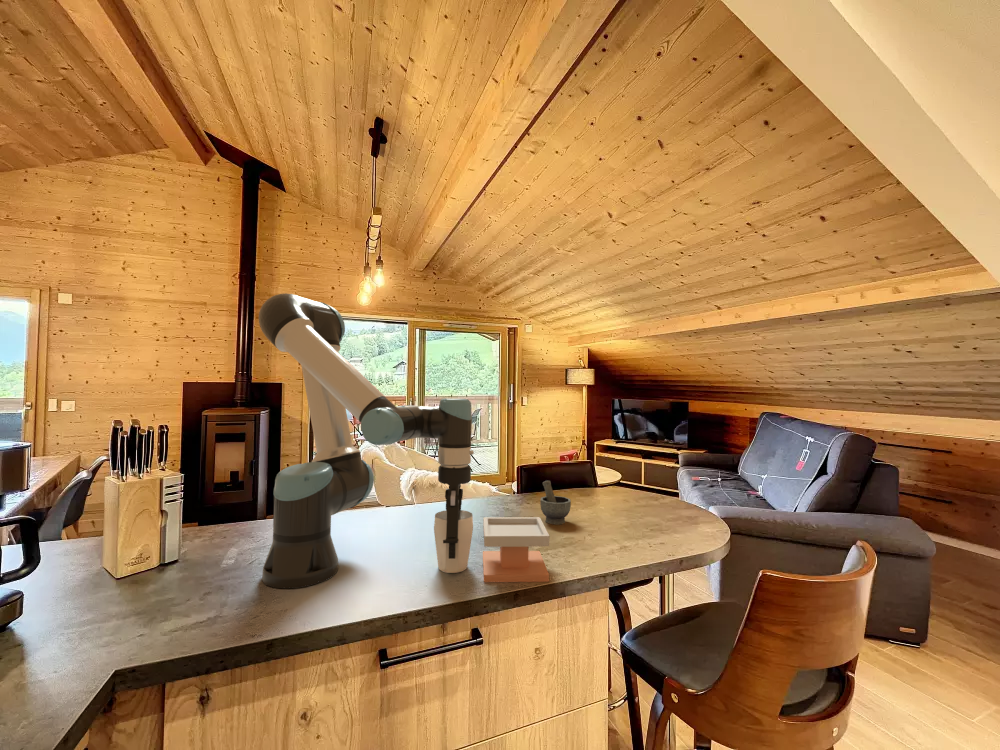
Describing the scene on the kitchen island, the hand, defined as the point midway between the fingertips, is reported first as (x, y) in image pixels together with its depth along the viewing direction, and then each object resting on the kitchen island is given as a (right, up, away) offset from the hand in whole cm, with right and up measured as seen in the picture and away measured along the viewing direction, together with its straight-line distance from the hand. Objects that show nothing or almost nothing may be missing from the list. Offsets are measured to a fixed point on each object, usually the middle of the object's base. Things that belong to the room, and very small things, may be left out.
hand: (452, 563), depth 102 cm
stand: (+14, -1, 0) cm, 14 cm away
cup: (0, -1, 0) cm, 1 cm away
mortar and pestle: (+28, -3, +38) cm, 47 cm away
